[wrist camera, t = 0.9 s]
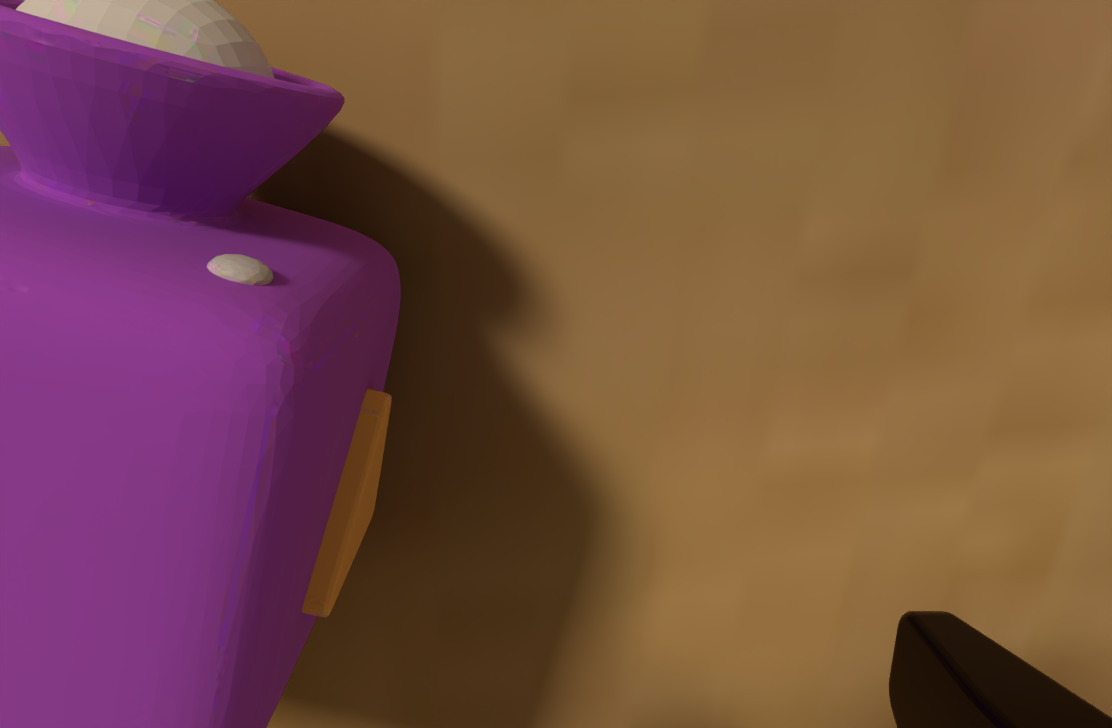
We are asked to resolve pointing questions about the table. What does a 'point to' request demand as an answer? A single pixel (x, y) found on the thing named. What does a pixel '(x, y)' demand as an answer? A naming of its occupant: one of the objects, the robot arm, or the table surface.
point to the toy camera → (172, 371)
